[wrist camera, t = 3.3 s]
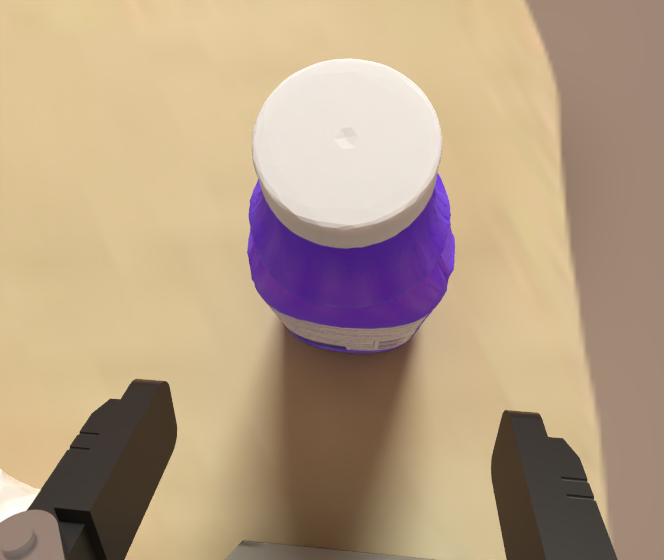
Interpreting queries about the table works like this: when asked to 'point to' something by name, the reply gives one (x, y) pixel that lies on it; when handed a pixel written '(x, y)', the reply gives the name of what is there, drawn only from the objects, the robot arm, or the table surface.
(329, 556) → the tote
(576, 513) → the robot arm
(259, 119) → the bottle
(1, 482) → the bust
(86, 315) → the table surface
